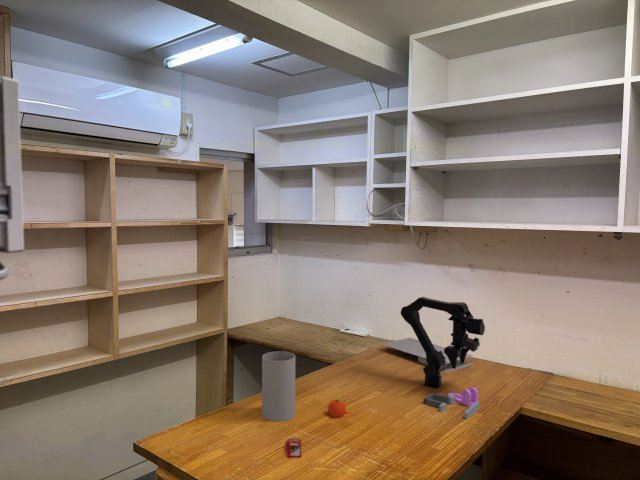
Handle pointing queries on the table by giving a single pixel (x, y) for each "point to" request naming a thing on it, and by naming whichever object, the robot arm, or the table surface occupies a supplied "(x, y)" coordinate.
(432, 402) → the trap pit
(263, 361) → the cylinder vase
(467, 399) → the bracket
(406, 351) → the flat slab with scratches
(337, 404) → the tomato
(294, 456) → the red labelled container
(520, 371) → the table surface
